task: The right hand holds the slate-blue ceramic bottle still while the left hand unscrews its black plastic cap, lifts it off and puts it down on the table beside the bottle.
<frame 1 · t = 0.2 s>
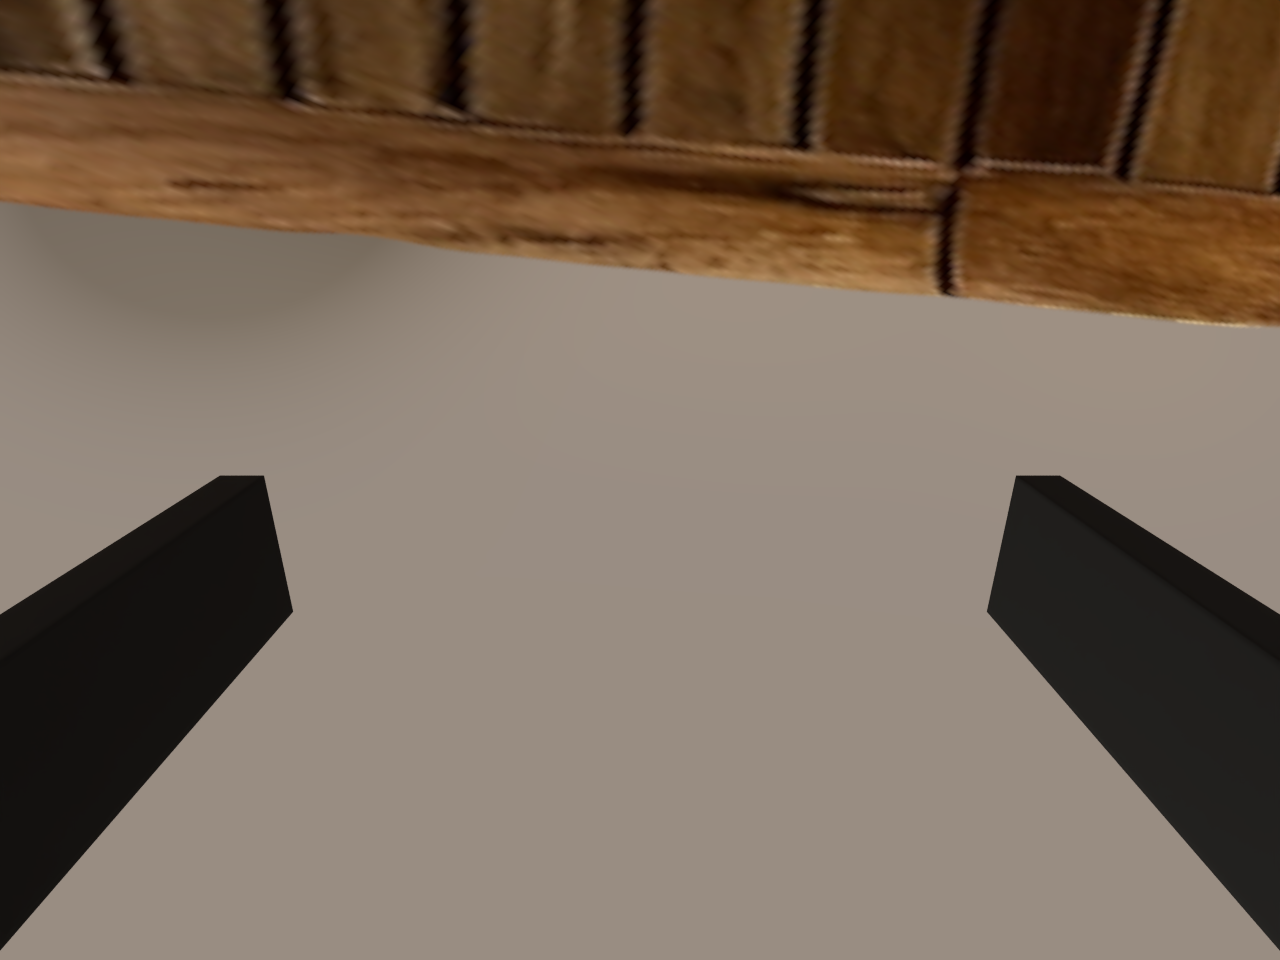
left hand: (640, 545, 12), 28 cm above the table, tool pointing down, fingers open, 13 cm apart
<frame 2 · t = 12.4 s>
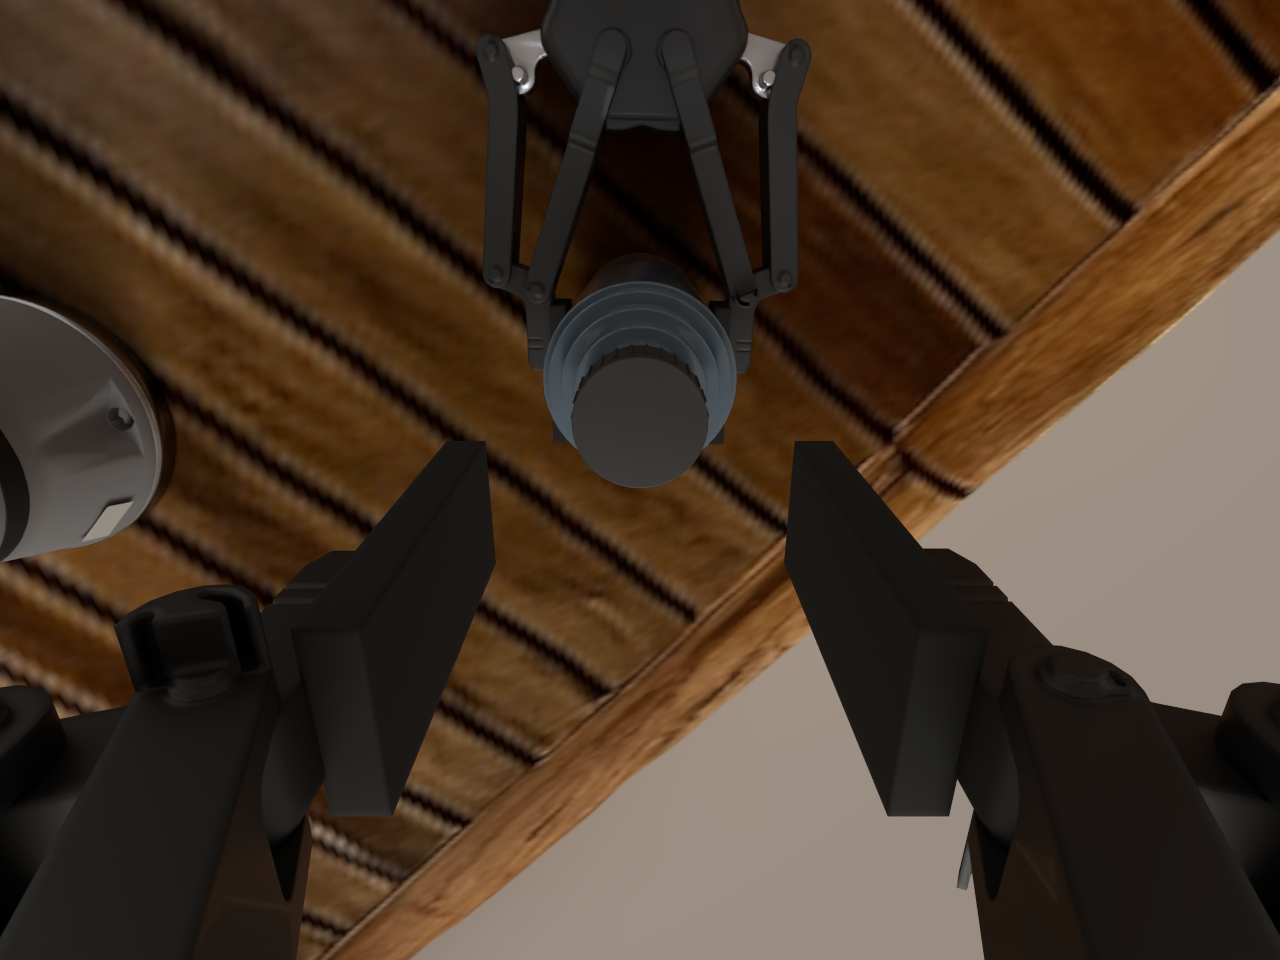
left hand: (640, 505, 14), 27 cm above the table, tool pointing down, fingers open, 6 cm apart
right hand: (638, 434, 35), fingers closed on bottle, 7 cm apart
cap: (639, 421, 19), point 21 cm above the table, screwed on, not yet turned
bottle: (639, 314, 39), on the table, touching right hand
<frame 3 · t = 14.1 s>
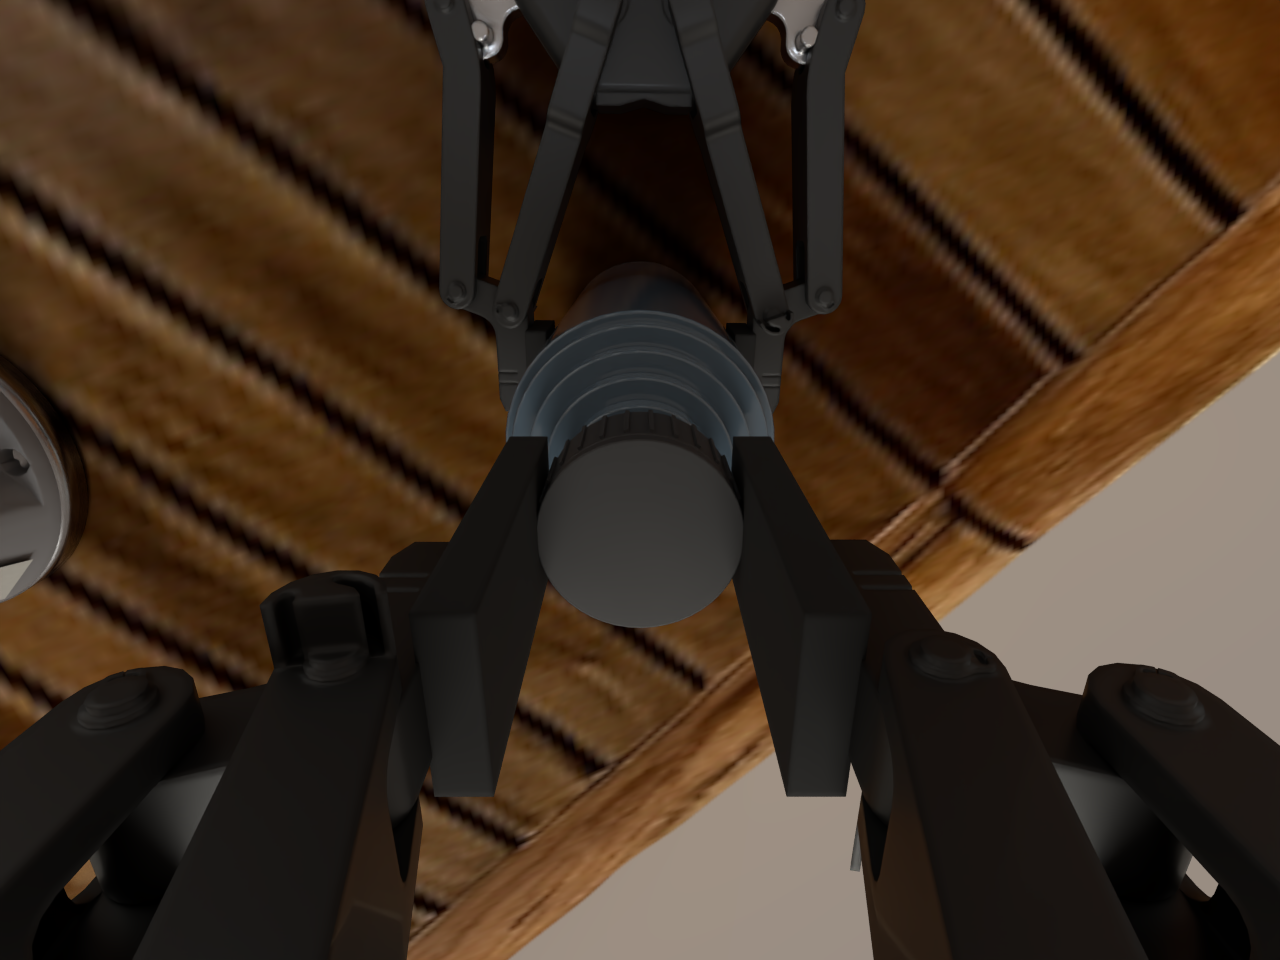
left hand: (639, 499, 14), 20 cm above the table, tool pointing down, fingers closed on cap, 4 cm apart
right hand: (638, 486, 28), fingers closed on bottle, 7 cm apart
cap: (640, 531, 13), point 21 cm above the table, screwed on, not yet turned, touching left hand
bottle: (639, 335, 33), on the table, touching right hand
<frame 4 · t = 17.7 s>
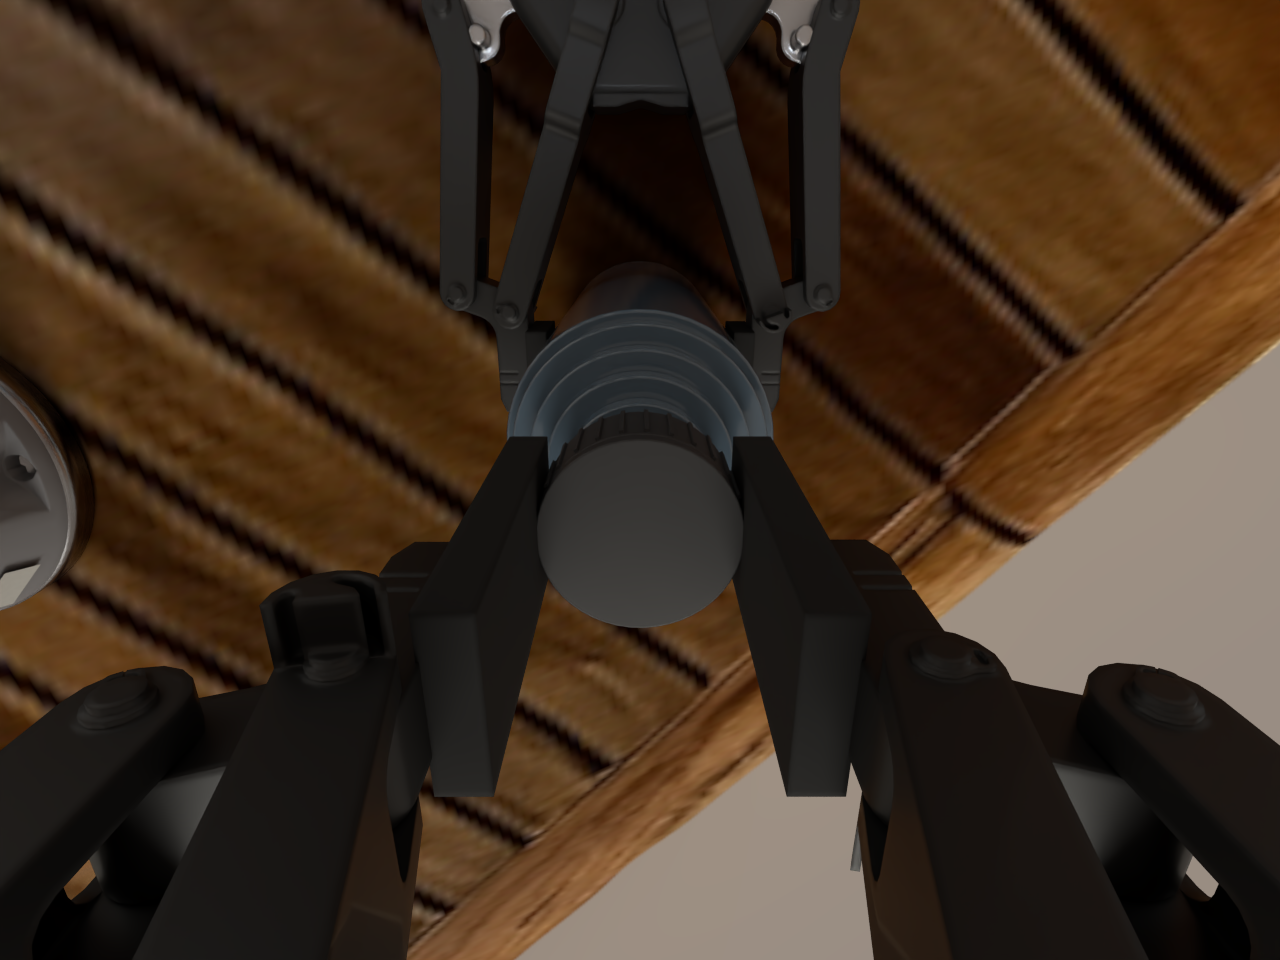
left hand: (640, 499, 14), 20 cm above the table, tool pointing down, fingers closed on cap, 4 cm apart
right hand: (639, 485, 28), fingers closed on bottle, 7 cm apart
cap: (640, 531, 13), point 22 cm above the table, turned 135° so far, risen 0.1 cm, still on its thread, touching left hand
bottle: (640, 335, 33), on the table, touching right hand
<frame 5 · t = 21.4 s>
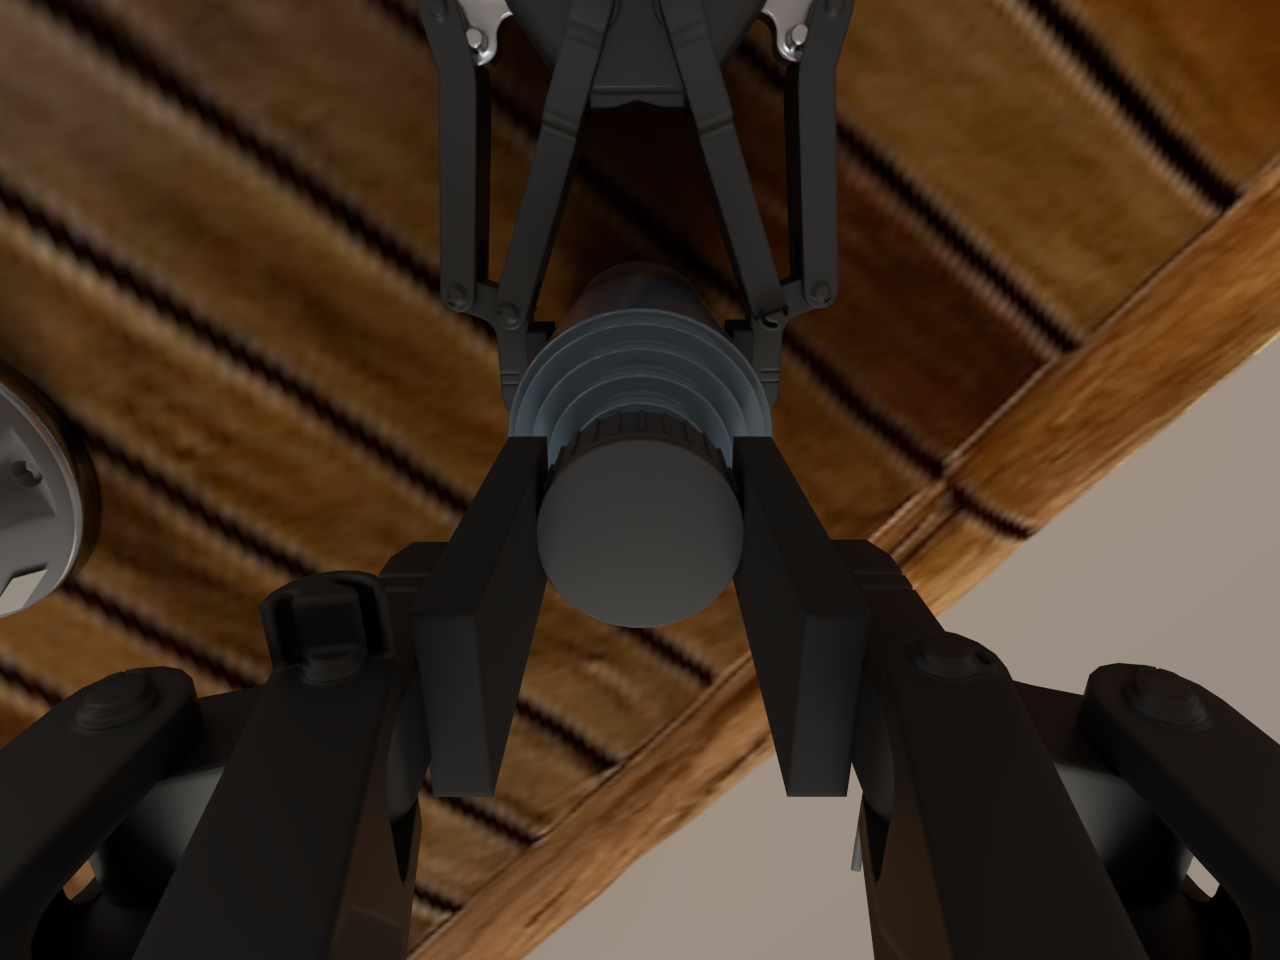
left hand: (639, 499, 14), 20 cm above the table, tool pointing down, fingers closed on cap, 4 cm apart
right hand: (641, 484, 28), fingers closed on bottle, 7 cm apart
cap: (640, 531, 13), point 22 cm above the table, turned 270° so far, risen 0.3 cm, still on its thread, touching left hand
bottle: (640, 334, 33), on the table, touching right hand
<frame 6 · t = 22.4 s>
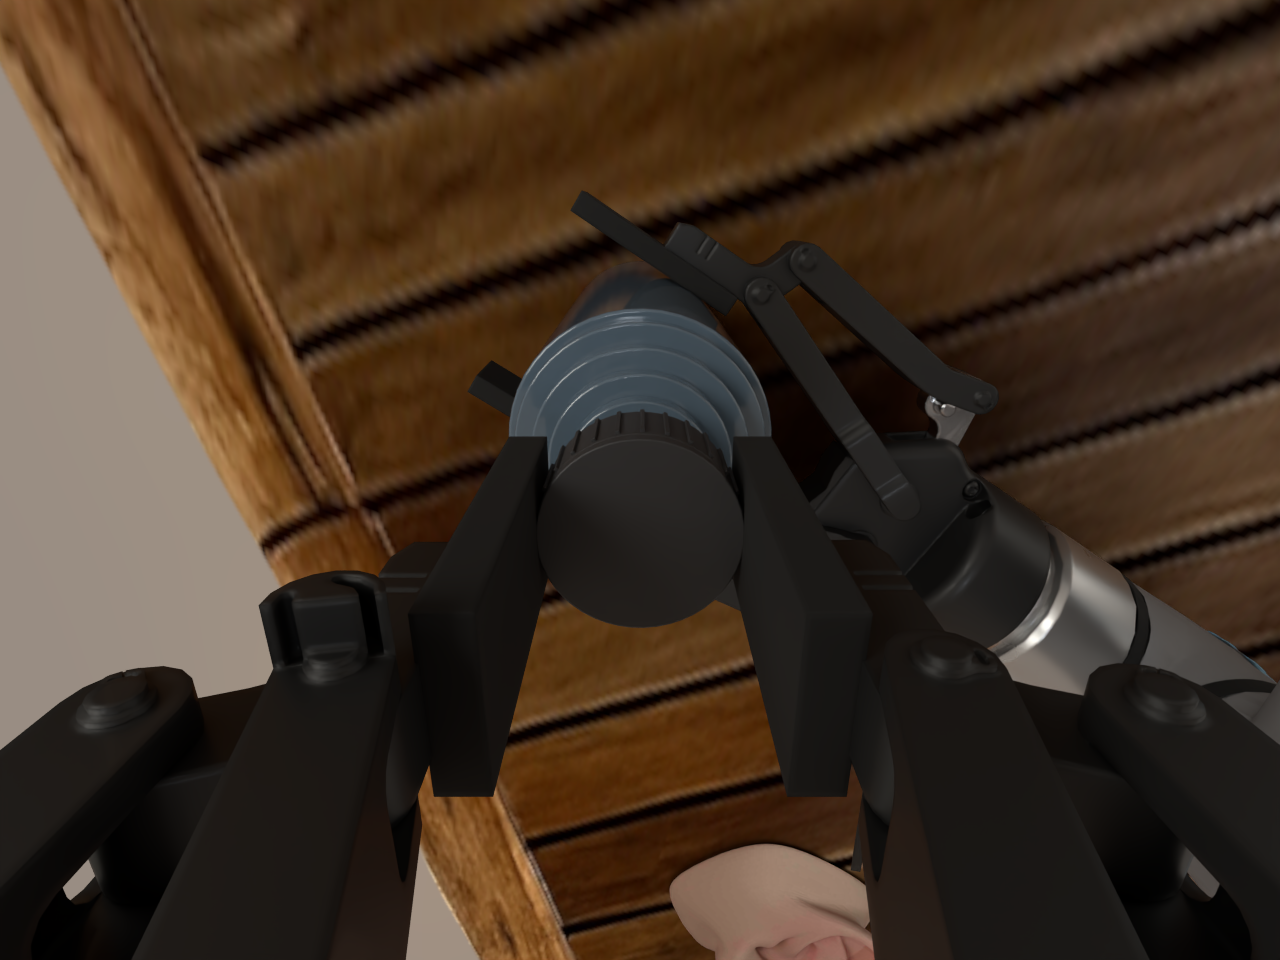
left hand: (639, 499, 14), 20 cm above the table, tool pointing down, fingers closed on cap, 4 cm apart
right hand: (528, 292, 26), fingers closed on bottle, 7 cm apart
anatomical model: (768, 902, 47), on the table
cap: (640, 531, 13), point 22 cm above the table, off its thread, touching left hand
bottle: (640, 334, 33), on the table, touching right hand
when the left hand's fingers open (2 cm above the table, at t = 28.2 s): cap drops 2 cm, point 1 cm above the table.
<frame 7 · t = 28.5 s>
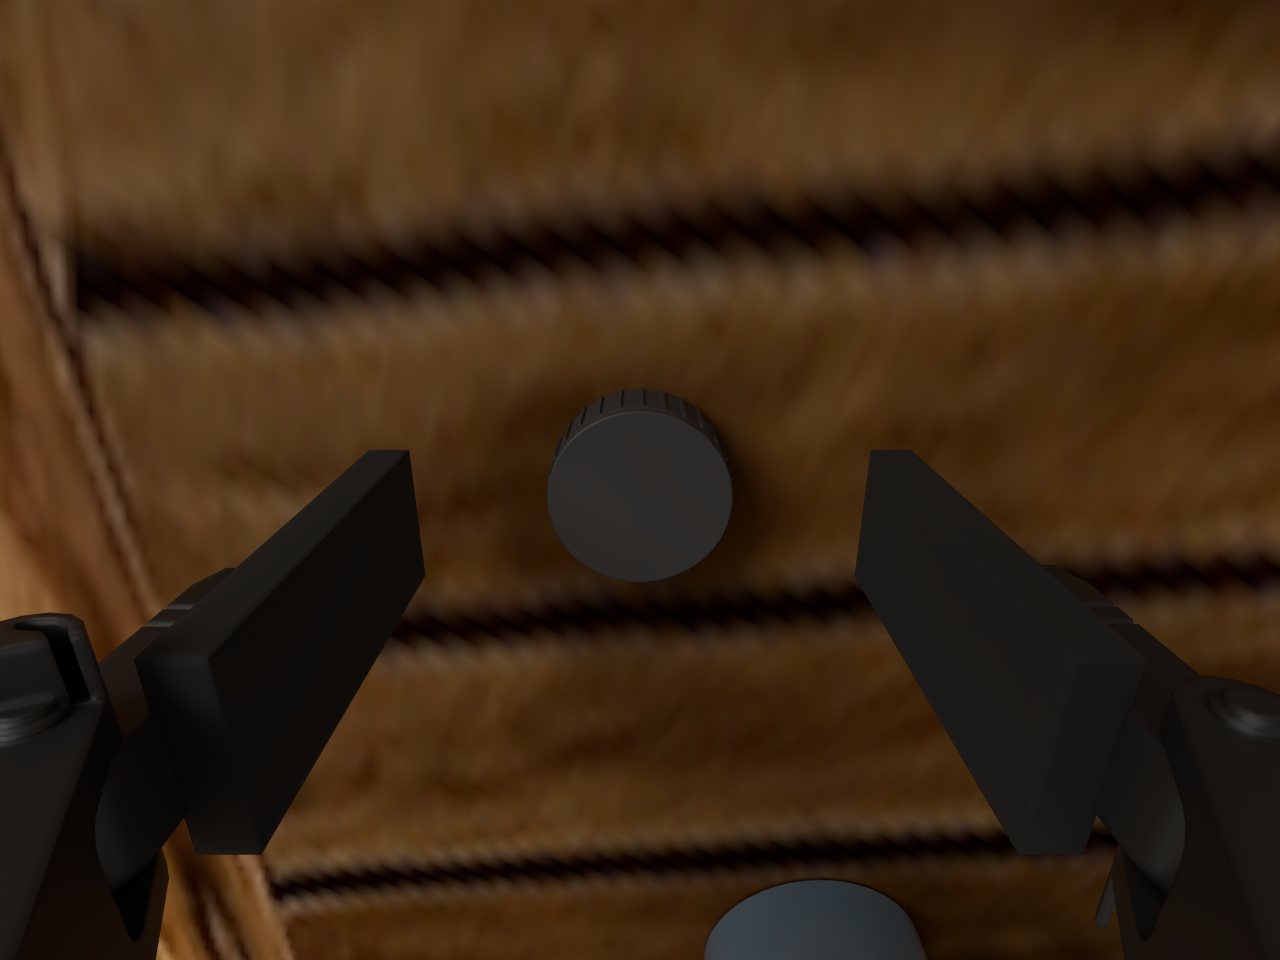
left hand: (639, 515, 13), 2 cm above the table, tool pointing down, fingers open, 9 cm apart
cap: (640, 495, 14), point 1 cm above the table, off its thread
bottle: (810, 955, 22), on the table, touching right hand
when the right hand's fingers open (7 cm above the table, at t = 29.4 s): bottle stays where it is, on the table.
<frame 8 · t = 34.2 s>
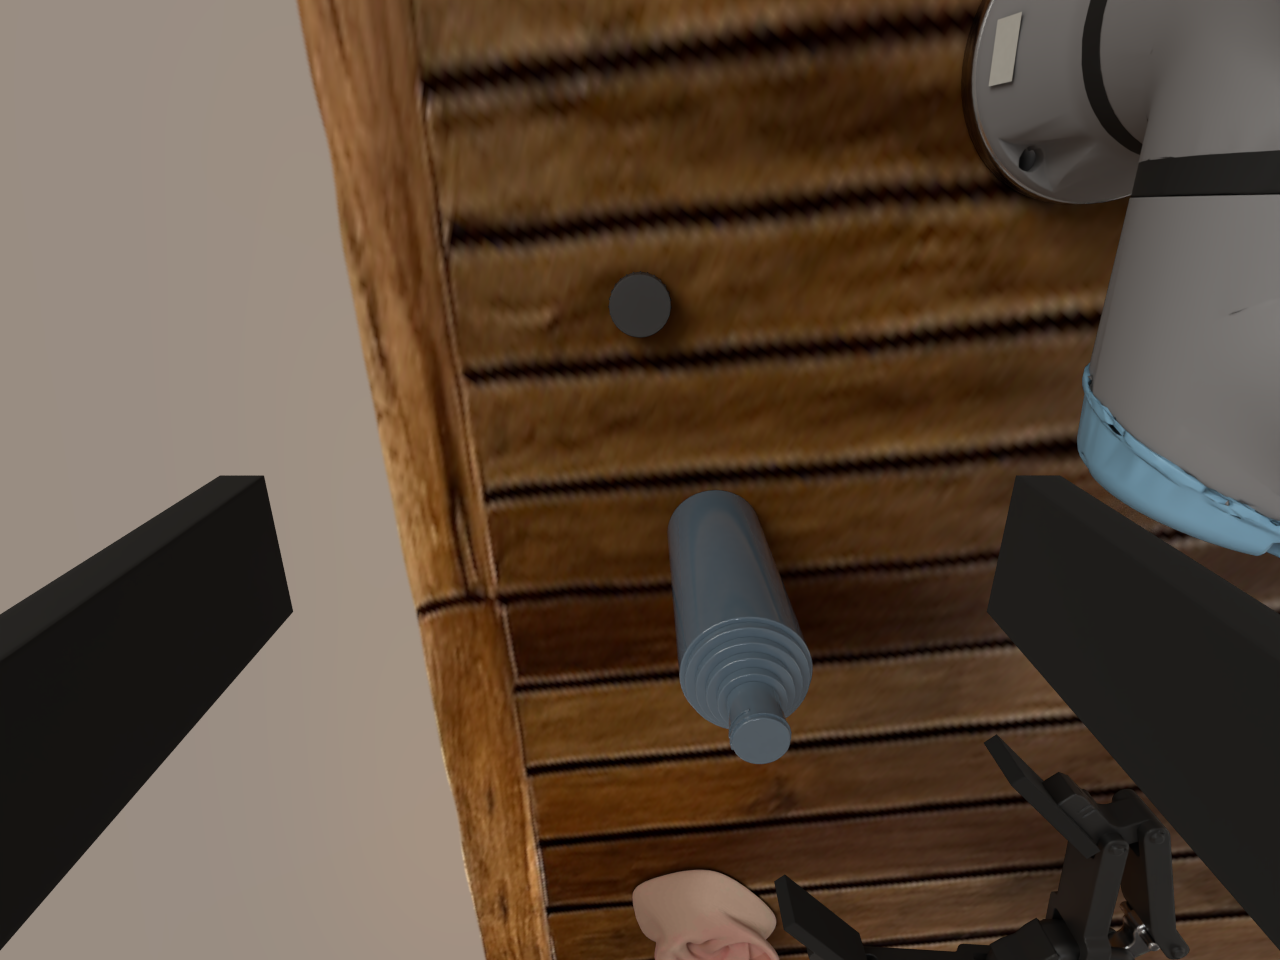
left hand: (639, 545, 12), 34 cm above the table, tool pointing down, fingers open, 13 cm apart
anatomical model: (700, 911, 65), on the table
cap: (640, 305, 43), point 1 cm above the table, off its thread
bottle: (713, 532, 50), on the table
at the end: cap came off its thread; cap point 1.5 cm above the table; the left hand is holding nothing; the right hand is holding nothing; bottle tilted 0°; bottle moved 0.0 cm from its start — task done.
